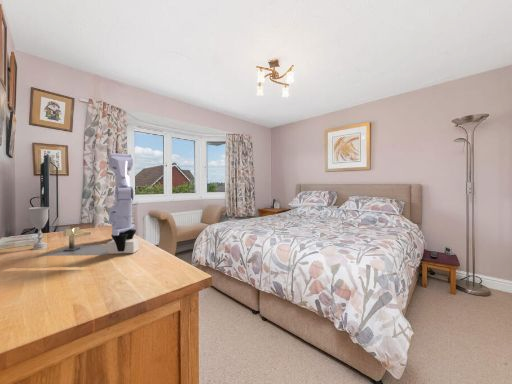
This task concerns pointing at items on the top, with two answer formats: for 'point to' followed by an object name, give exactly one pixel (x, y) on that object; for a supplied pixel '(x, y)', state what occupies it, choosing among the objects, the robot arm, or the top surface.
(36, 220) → the chalice
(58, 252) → the plate
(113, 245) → the cover
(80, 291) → the top surface
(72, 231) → the t key
